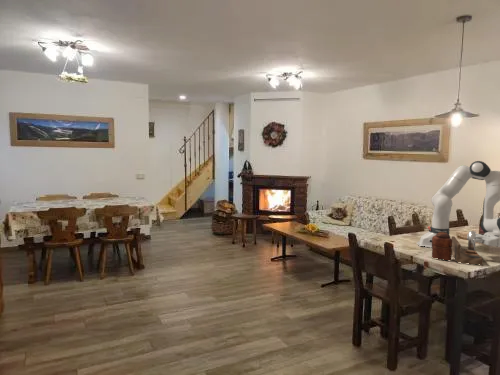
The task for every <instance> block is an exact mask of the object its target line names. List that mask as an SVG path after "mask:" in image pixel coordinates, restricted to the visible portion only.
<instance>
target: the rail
mask: <svg viewBox="0 0 500 375" xmlns="http://www.w3.org/2000/svg"><path fill="white" fill-rule="evenodd" d="M451 239H452V247H451V248H452V255H453V256H452V257H454V258H455V259H454V258H453V259H454V261H455V260H456V261H457V262H461V263H469V264H468V265H471V264H480V265H479V266H483V262H484V261H483V260H484V259H483V258H482V256H480V254H479V253H478V252H477V251H476V249H475V250H468V248H461V243H460V242H459V241H458V239H457V238H456V237H455V236H453V235H452V236H451ZM456 261H455V262H456Z"/></svg>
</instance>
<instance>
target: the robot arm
mask: <svg viewBox="0 0 500 375" xmlns="http://www.w3.org/2000/svg"><path fill="white" fill-rule="evenodd" d="M470 179H474V180H478V181H485V185H486V186H485V190H486V191H485V197H484V200H483V207H482V219H481V223H480V229H481V230H482V232H483V233H484V234H480V233H476V239H473V242H475V243H479V244H482V245H486V246H488V247H496V248H500V217H496V218H494V209H495V206H496V204H497V203H499V202H500V171H499V170H491V167H490V166H489V165H487V164H486V162H484V161H482V160H477V161H476V160H475V161H472V163H471V164H470V165H469V166H467V165H463V164H462V165H460V166H458V167H457V168H456V169H455V170H453V172H452V173H451V174H450V176H449V177H448V178H447V180H446V182H444V183H443V185H442V186H441V187H440V188H439V189H438V190H437V191H436V193H435V194H434V195H432V197H431V204H432V206H434V209H433V213H432V217H431V218H432V220H431V226H430V225H429V226H427V229H428V231H427V232H426V233H424V234H422V235H421V237H420V239H419V240H418V241H416V245H417V244H418V245H419V246H418V245H417V246H418V247H420V246H425V247H424V248H427V247H432V237H433V236H435V235H436V234H437V233H440V232H445V233H447V234H449V235H450V232H451V231H450V218H451V217H450V216H451V211H452V207H453V200H452V199H453V198H454V197H455V196H457V194H459V193H460V192H461V190H462V189H463V188H464V187H465V185H466V184H467V182H469V180H470ZM468 236H469V233H467V235H466V240H467V241H468Z"/></svg>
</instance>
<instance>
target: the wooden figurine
mask: <svg viewBox="0 0 500 375" xmlns="http://www.w3.org/2000/svg"><path fill="white" fill-rule="evenodd" d="M451 247H452V237H451V235H450V233H449V234H447V233H445V232H440V233H437V234H436V235H435V236H433V237H432V248H431V258H432V257H433V258H438V259H444V260H451V261H452V257H453V256H452V248H451ZM433 258H432V259H433ZM444 260H443V261H444Z"/></svg>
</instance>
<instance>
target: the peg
mask: <svg viewBox="0 0 500 375" xmlns="http://www.w3.org/2000/svg"><path fill="white" fill-rule="evenodd" d="M468 234H469V236H468V240H467V242H468V243H467V249H468V250H475V251H476V242H473V239H476V234H477V231H475V230H468Z"/></svg>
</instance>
